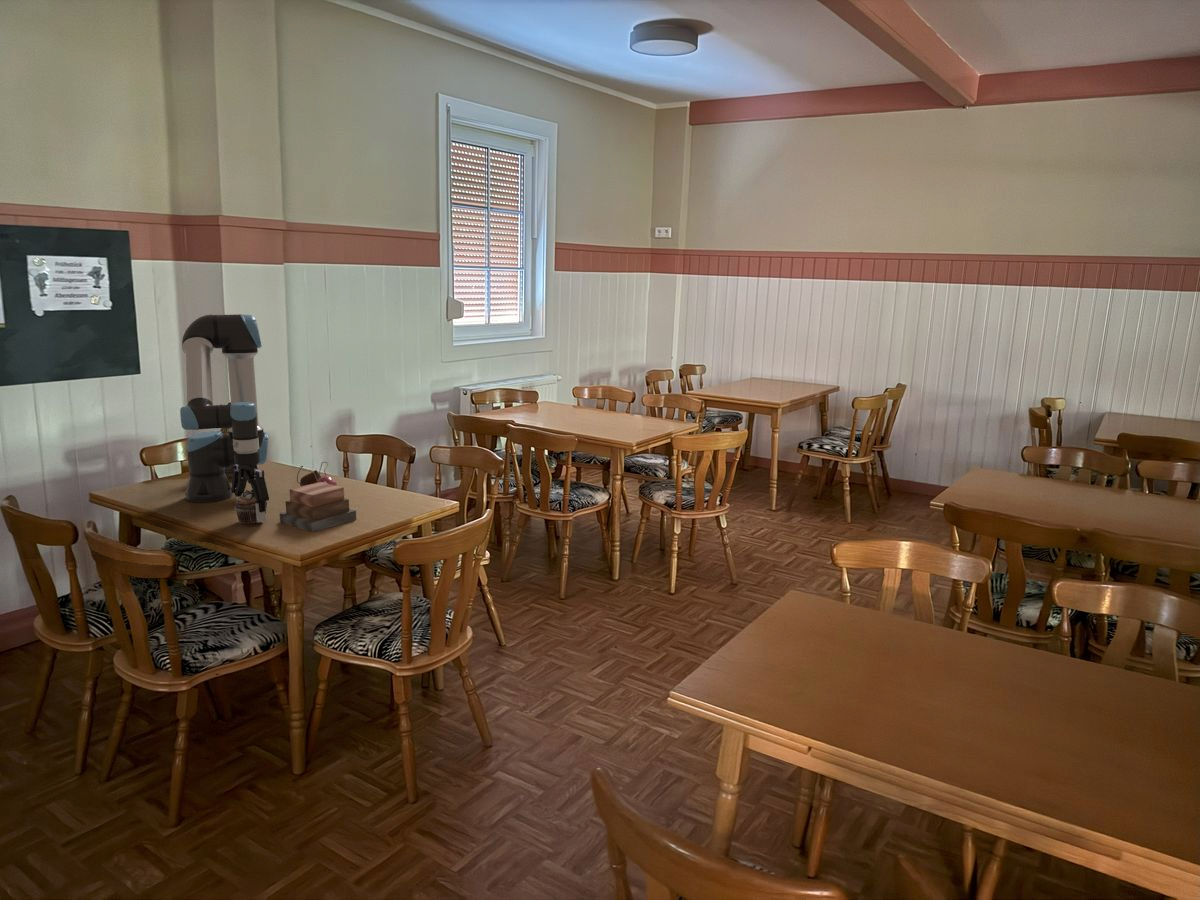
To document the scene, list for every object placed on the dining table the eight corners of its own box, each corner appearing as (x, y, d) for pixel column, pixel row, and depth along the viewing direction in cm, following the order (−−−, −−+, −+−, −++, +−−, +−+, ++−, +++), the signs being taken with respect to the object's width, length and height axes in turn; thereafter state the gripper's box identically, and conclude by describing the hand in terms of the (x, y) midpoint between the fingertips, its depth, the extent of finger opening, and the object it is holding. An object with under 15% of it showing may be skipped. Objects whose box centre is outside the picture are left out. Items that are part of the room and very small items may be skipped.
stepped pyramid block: (280, 522, 269) (277, 489, 267) (323, 510, 283) (322, 479, 280) (312, 532, 260) (310, 498, 257) (356, 519, 273) (354, 487, 271)
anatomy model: (325, 496, 286) (305, 456, 291) (308, 518, 296) (289, 479, 300) (353, 490, 295) (333, 451, 299) (336, 511, 304) (317, 473, 308)
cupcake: (256, 513, 273) (254, 484, 271) (274, 518, 268) (271, 489, 266) (229, 520, 266) (227, 490, 263) (247, 526, 260) (244, 495, 258)
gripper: (215, 448, 265) (221, 514, 270) (256, 458, 253) (261, 527, 258) (237, 444, 271) (242, 509, 276) (278, 454, 259) (282, 522, 264)
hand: (251, 518), depth 267 cm, fingers closed on cupcake, 10 cm apart
